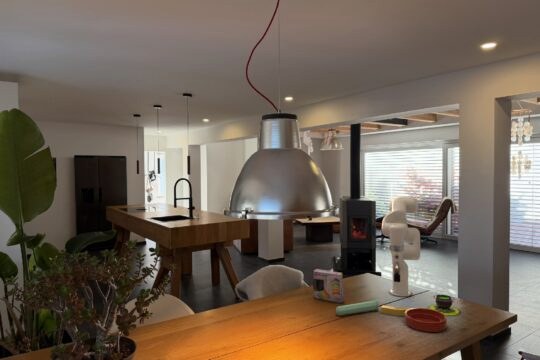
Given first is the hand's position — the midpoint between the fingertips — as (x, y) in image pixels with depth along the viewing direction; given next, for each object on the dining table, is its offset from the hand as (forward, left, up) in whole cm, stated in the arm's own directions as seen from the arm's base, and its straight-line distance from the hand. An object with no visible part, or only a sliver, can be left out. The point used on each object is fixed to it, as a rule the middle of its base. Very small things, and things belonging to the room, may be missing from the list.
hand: (397, 279), depth 203 cm
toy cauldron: (-15, +25, -20) cm, 35 cm away
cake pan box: (-13, -40, -20) cm, 47 cm away
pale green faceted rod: (+3, -21, -20) cm, 29 cm away
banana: (-2, 0, -20) cm, 20 cm away
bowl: (+9, +14, -20) cm, 26 cm away
